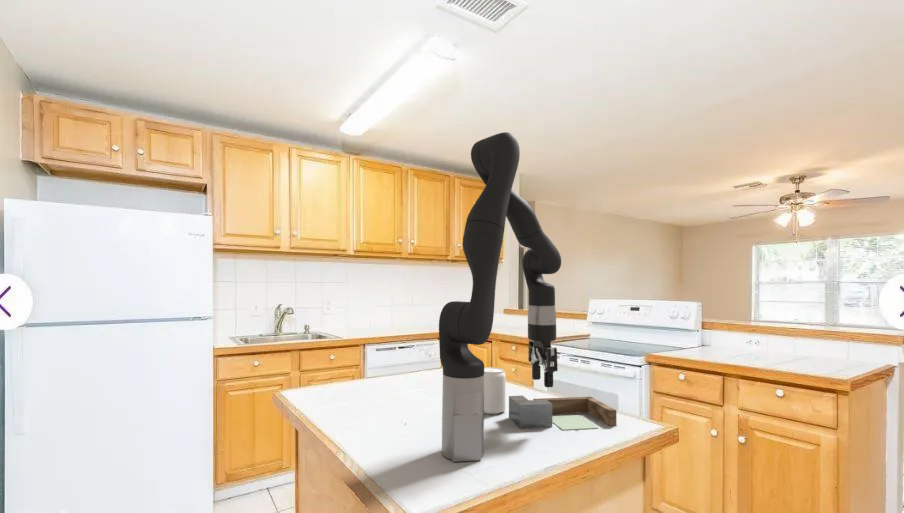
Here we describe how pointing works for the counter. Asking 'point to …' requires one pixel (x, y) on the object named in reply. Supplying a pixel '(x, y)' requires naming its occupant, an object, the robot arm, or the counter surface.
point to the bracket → (530, 412)
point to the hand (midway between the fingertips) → (542, 383)
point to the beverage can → (494, 390)
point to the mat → (572, 422)
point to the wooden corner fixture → (583, 408)
